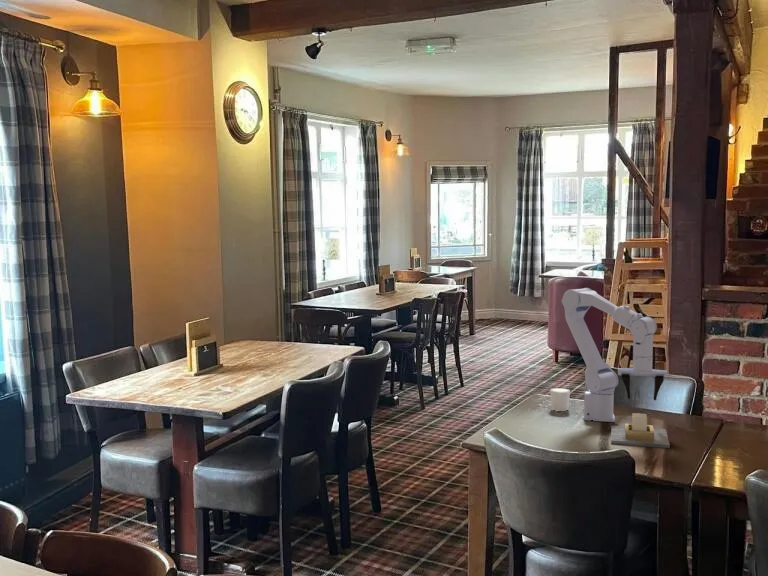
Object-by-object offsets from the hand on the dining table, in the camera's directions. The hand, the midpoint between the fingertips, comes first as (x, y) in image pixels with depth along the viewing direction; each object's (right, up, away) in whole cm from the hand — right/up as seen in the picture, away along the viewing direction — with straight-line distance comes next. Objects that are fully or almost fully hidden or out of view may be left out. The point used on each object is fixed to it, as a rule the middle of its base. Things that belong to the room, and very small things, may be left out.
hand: (641, 398), depth 226 cm
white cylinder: (-20, -8, +24) cm, 32 cm away
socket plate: (-4, -10, -9) cm, 15 cm away
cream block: (-4, -9, -9) cm, 14 cm away
